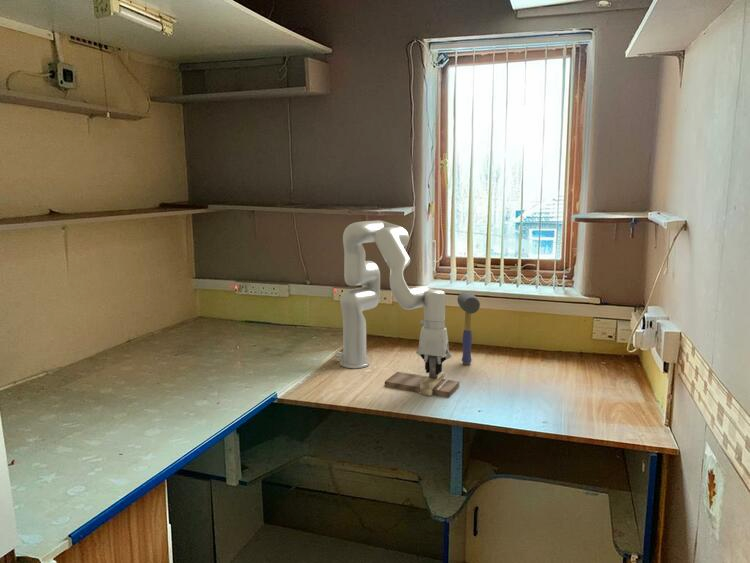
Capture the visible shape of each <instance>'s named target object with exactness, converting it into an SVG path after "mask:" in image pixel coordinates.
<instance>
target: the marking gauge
mask: <svg viewBox="0 0 750 563" xmlns="http://www.w3.org/2000/svg"><path fill="white" fill-rule="evenodd" d="M437 362H438V360H437V356H429V373H428V375H427V376H428V377H427V378H426V379H425V380H424V381H421V382H420V392H419V394H420V395H424V396H429V397H431V396H432V389H433V388H434V387H435V386H436V385H437V384H438V383H439V382H440V381H441V380H442V379H445V371H441V372H440V373H439V374H438V375H437V374H436V364H437Z"/></svg>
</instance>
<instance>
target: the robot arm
mask: <svg viewBox="0 0 750 563" xmlns="http://www.w3.org/2000/svg"><path fill="white" fill-rule="evenodd" d="M409 241H410V236H409V232H408V231H407V230H406V229H405V228H404V227H403V226H401V225H398V224H394V223H392V222H391V223H390V222H388V221H384V220H366V221H365V220H363V221H356V222H353V223H351V224H349V225H348V226H346V227H345V229H344V231H343V235H342V244H343V251H344V255H343V256H344V258H343V259H344V262H343V263H344V264H343V265H344V266H343V268H344V271H343V273H344V274H343V275H344V276H343V277H344V282H345V284H346V285H347V286H350V287H357V288H352V289H348V290H345V291H344V292H343V293H342V295H341V296H340V301H339V302H340V307H341V313H342V330H343V331H342V332H343V333H342V335H343V336H342V339H343V340H342V342H343V343H342V345H343V346H342V348H343V349H342V352H341V351H338V350H337V351H335V357H336V358H340V360H339V365H340V366H341V367H343V368H347V369H362V368H366V367H369V365H370V364H371V361H370V359H369V358H367V321H366V317H365V316H364V314H363V312H364V311H367V310H372V309H374V308H377V306H378V304H379V303H380V299H381V271H380V268H379V266H378V264H377V263H376V262H374V261H372V260H366V250H365V247H364V245H363V244H368V243H375V244H376V246H377V248H378V250H379V252H380V253H381V255H382V257H383V259H384V261H385V263H386V265H387V266H388V268H389V270H390V272H389V288H390V291H391V293H392V295H393V297H394V299H395V300H396V302H397V304H398V305H399V306H400V307H401V308H402V309H403V310H407V311H410V310H415V309H418V308H423V319H422V318H421V319H420V321H419V322H420V324H422V325H423V326H422V327H421V329H420V334H419V340H418V341H419V342H418V348H417V350H416V354H417V355H419V356H420V357H421V359H423V362H424V370H425V373H426V374H429V356H437V360H438V362H437V364H436V374H437V375H438V374H439V373H440V372H443V362H445V361H446V360H449V359H451V358H452V357H453V355H452V353H451V351H450V350H449V336H448V335H449V334H448V329H447V327H446V298H447V297H446V292H445V291H443V290H441V289H433V288H430V287H429V286H426V285H424V286H423V285H421V286H416V287H411V288H409V286H408V284H407V282H406V281H405V277H404V270H405V269H406V268H407V267H408V266H409V265H410V263H411V258H410V256H409V254H408V253H407V251H406V249H405V247H406V246H407V245H408V244H409ZM358 286H359V287H358ZM360 286H361V287H360Z"/></svg>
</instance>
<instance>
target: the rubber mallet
mask: <svg viewBox="0 0 750 563" xmlns="http://www.w3.org/2000/svg"><path fill="white" fill-rule="evenodd" d="M457 304H458V305H459V307H460V309H462V310H463V311H464V330H463V333H462V357H461V361H462V364H463V365H471V363H472V343H473V336H472V333H473V332H472V314H475V313H477V312H478V311H479V309H480V307H481V305H480V304H481V303H480V301H479V299H478V298H477V297H476V295H475V294H473V293H471V292H469V291H462V292H461V293H460V294H459V295H458V296H457Z"/></svg>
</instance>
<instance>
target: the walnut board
mask: <svg viewBox="0 0 750 563" xmlns="http://www.w3.org/2000/svg"><path fill="white" fill-rule="evenodd" d="M428 376H429V375H422V374H421V375H420V374H414V373H408V372H402V371H396V372H395V373H394V374H392V375H391V376H390V377H389V378H387V379H386V380H385V381H384V387H386V388H392V389H398V390H403V391H409V392H414V393H420V382H421V381H424V380H425V379H426V378H427V377H428ZM459 387H460V381H459V380H453V379H448V378H443V379H442V380H441V381H440V382H439V383H438V384H437V385H436V386H435V387H434V388H433V389H432V395H433V396H438V397H444V398H450V397H451V396H452V395H453V394H454V393H455V391H456V390H458V389H459ZM432 395H431V396H432Z"/></svg>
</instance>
